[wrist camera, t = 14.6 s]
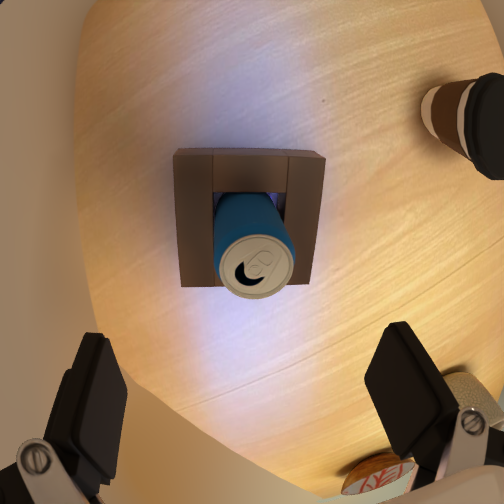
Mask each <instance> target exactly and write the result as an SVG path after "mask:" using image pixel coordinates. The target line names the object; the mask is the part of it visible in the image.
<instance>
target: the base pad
mask: <svg viewBox="0 0 504 504" xmlns="http://www.w3.org/2000/svg"><path fill="white" fill-rule="evenodd" d="M325 162H326V158H324V157H323V156H321V155H319V154H318V153H316V152H315V151H308V150H291V149H268V148H179V149H178V150H177V151H176V153H175V154H174V155H173V173H174V196H175V214H176V230H177V244H178V256H179V268H180V279H181V287H214V286H215V287H223V286H225V285H224V284H223V282H222V281H221V280H220V279H219V277H218V275H217V273H216V271H215V267H214V197H213V192H268V193H278V202H277V211H278V213H279V215H280V218H281V220H282V222H283V224H284V226H285V228H286V230H287V232H288V234H289V237H290V239H291V241H292V243H293V246H294V249H295V264H294V267H293V272H292V275H291V278H290V279H289V281H288V283H287V284H286V285H302V284H309V282H310V276H311V269H312V263H313V256H314V250H315V243H316V236H317V228H318V221H319V213H320V205H321V197H322V189H323V180H324V171H325Z"/></svg>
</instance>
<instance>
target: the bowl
mask: <svg viewBox="0 0 504 504" xmlns="http://www.w3.org/2000/svg"><path fill="white" fill-rule="evenodd" d="M414 465H415V462H414V461H413V460H411V459H410V458H408V459H405V460H402V461H401V460H400V458H399V455H398V456H397V455H396V454H394V453H382V454H378V455H374V456H372V457H369V458H367V459H365V460H363V461H362V462H360V463H359V464H358V465H357V466H356V467H355V468H354V469H353V470H352V471H351V472H350V473H349V475H348V476H347V478H346V479H345V482H344V484H343V487H342V490H341V494H342V495H355V494H360V493H364V492H368V491H371V490H374V489H377V488H380V487H382V486H384V485H387V484H389V483H391V482H393V481H395V480H397V479H399V478H400V477H402V476H404V475H405V474H406V473H408V472H409V471H410V470H412V469H413V468H414Z"/></svg>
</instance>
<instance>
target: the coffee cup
mask: <svg viewBox="0 0 504 504" xmlns="http://www.w3.org/2000/svg"><path fill="white" fill-rule="evenodd" d="M421 117H422V120H423V123H424V125H425V126H426V128H427V129H428V130H429V132H430V133H431V135H433V136H435V137H436V138H438V139H440V141H441V142H442V143H444V144H445V145H447V146H449V147H450V148H452V149H453V150H455V151H456V152H458V153H459V154H461V155H462V156H464V157H465V158H467V159H468V160H470V161H471V162H473V164H474V166H475V168H476V169H477V171H479V172H480V173H482V174H483V175H484V176H486V177H487V178H489V179H491V180H504V76H503V75H501V74H498V73H493V72H492V73H489V74H486V75H483V76H480V77H479V78H478V79H471V80H464V81H457V82H451V83H448V84H445V85H442V86H437V87H435V88H432V89H430V90H429V91H428V93H427V94H426V95H425V96H424V98H423V101H422V104H421Z"/></svg>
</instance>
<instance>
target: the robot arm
mask: <svg viewBox="0 0 504 504" xmlns="http://www.w3.org/2000/svg"><path fill="white" fill-rule="evenodd" d="M364 381H365V385H366V387H367V389H368V392H369V394H370V396H371V399H372V401H373V403H374V406H375V408H376V410H377V413H378V415H379V417H380V420H381V422H382V424H383V427H384V429H385V432H386V434H387V437H388V439H389V441H390V444H391V446H392V449H393V451H394V453H395V454H396V455H397V456H398V455H399V458H400V460H401V461H402V460H405V459H408V458H411V457H414V460H415V465H414V468H413V471H412V474H411V476H410V479H409V482H408V484H407V487H406V490H405V492H404V494H403V495H401V496H398V497H395V498H392V499H390V500H387V501H384V502H381V503H378V504H504V432H503V431H501V430H498V429H495V428H493V427H490V426H489V421H488V418H487V416H486V414H485V413H484V412H483V411H482V410H481V409H479V408H477V407H475V406H466V407H464V408H462V409H461V410H460V409H459V408H458V407H459V406H460V405H459V403H458V402H457V400H456V398H455V397H454V395H453V393H452V391H451V390H450V388H449V386H448V385H447V383H446V382H445V380H444V378H443V377H442V375H441V373H440V372H439V370H438V369H437V367H436V365H435V364H434V362H433V361H432V359H431V358H430V356H429V355H428V353H427V351H426V350H425V348H424V347H423V345H422V344H421V342H420V341H419V339H418V338H417V336H416V335H415V333H414V332H413V330H412V329H411V327H410V326H409V324H408V323H407V322H405V321H401V322H394V323H390V324H389V325H388V327H386V328H385V330H384V332H383V334H382V337H381V339H380V342H379V344H378V346H377V349H376V351H375V353H374V356H373V358H372V360H371V363H370V365H369V367H368V369H367V371H366V374H365V377H364ZM126 401H127V387H126V384H125V381H124V379H123V376H122V374H121V371H120V368H119V366H118V363H117V360H116V358H115V355H114V352H113V349H112V346H111V343H110V340H109V339H108V338H105V337H104V335H103V334H102V333H88V332H86V333H85V335H84V336H83V339H82V341H81V344H80V347H79V349H78V352H77V355H76V357H75V360H74V362H73V365H72V368H71V369H68V370H66V372H65V373H64V376H63V378H62V381H61V384H60V387H59V390H58V392H57V395H56V398H55V401H54V405H53V408H52V411H51V414H50V417H49V420H48V424H47V427H46V430H45V434H44V437H43V440H42V439H38V438H33V439H30V440H27V441H25V442H24V443H22V445H21V446H20V447H19V449H18V451H17V455H16V462H15V463H13V464H12V465H10V466H8V467H6V468H4V469H2V470H1V471H0V504H105V503H104V502H103V500H102V499H101V497H100V496H99V494H98V493H99V488H100V484H104V485H110V479H114V478H115V475H116V467H117V457H118V451H119V443H120V437H121V430H122V424H123V418H124V412H125V406H126Z"/></svg>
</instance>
